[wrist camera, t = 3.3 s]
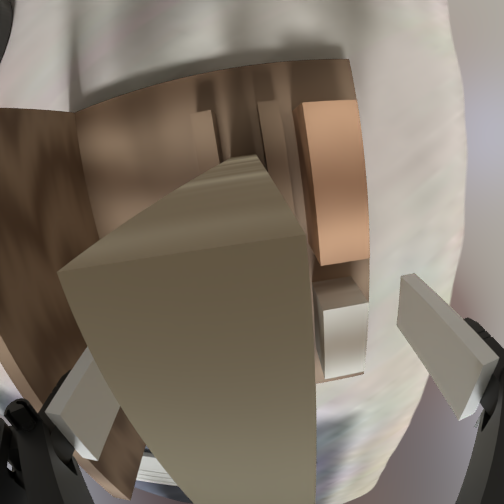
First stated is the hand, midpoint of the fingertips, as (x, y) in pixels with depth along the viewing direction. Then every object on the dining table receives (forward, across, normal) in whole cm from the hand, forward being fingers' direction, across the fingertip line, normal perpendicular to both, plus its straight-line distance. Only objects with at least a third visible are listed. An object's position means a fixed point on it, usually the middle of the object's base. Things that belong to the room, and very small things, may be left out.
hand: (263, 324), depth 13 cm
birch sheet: (+8, 0, 0) cm, 8 cm away
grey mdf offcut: (+8, +5, -6) cm, 11 cm away
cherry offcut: (+8, +5, +5) cm, 11 cm away
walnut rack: (+10, -2, 0) cm, 10 cm away
